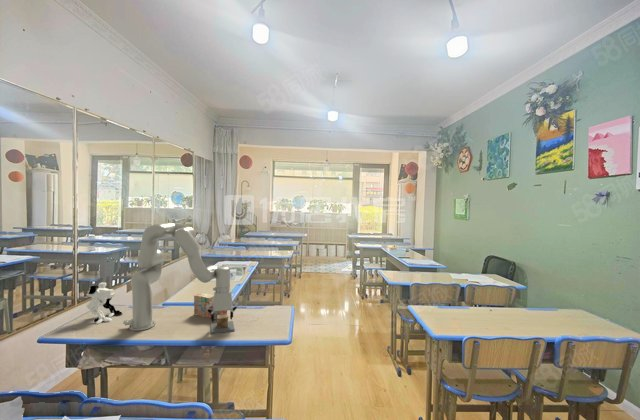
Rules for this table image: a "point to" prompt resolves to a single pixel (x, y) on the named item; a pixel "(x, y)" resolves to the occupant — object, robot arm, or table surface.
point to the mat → (229, 329)
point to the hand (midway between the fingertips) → (222, 319)
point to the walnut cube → (222, 321)
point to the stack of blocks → (202, 302)
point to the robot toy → (102, 302)
